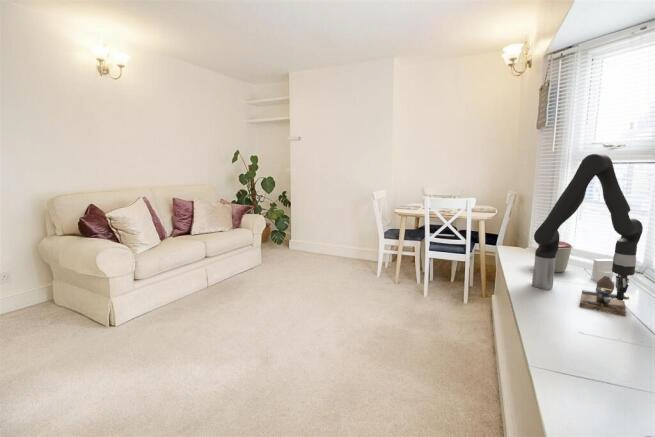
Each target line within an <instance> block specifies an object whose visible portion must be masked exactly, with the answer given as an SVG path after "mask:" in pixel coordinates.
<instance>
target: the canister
mask: <svg viewBox="0 0 655 437" xmlns="http://www.w3.org/2000/svg"><path fill="white" fill-rule="evenodd" d="M536 244H537V245H538V246H539V244H538V243H536ZM573 248H574V246H573V245H572V244H570V243H568V242H566V241H562V240H559V246H558V251H557V253H556V258H555V268H554V273H564V272H565V271H566V270H567V268H568V264H569V260H570V257H571V256H570V255H571V253H572V252H571V251H572V249H573Z"/></svg>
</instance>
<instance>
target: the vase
mask: <svg viewBox="0 0 655 437" xmlns="http://www.w3.org/2000/svg"><path fill="white" fill-rule="evenodd" d="M597 287H600V288H606V289H611V290H612V292H611V294H613V292H614V289H615V284H614V282H613V280H612V281H611V279H610V277H608V276H603V278H601V279H600V280H599V281H598V282H597V281H596V288H597Z"/></svg>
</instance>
